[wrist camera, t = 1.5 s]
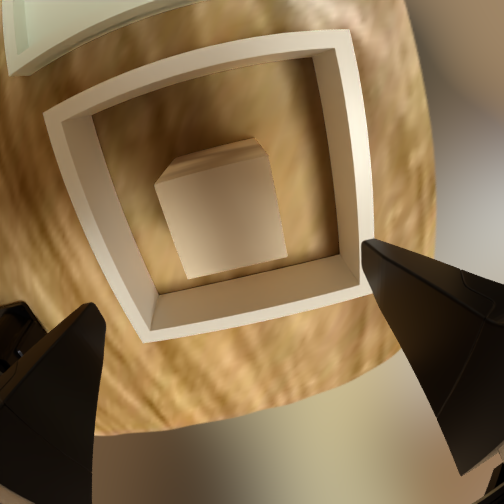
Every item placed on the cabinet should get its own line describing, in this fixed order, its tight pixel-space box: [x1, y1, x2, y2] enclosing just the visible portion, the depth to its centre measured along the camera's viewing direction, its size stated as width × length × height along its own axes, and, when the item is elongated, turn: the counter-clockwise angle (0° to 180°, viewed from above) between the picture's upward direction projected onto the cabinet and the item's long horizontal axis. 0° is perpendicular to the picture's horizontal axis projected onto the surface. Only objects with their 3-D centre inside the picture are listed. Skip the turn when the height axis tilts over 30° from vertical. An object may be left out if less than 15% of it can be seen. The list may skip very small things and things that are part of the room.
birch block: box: [154, 138, 288, 279], centre depth 16 cm, size 5×5×6 cm
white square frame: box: [43, 29, 374, 343], centre depth 17 cm, size 16×16×4 cm
